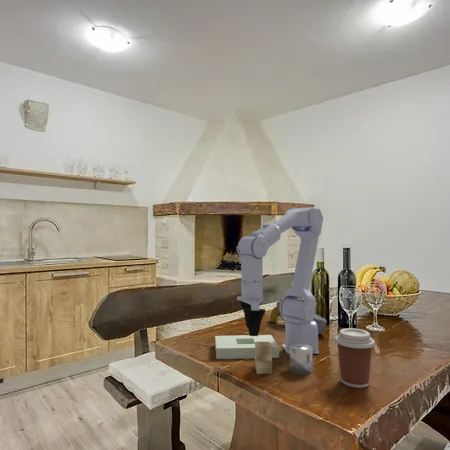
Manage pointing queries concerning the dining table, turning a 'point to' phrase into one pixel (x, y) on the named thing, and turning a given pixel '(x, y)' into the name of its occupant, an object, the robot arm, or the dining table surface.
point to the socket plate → (242, 346)
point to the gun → (319, 320)
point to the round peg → (301, 358)
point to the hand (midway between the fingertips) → (252, 331)
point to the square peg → (263, 357)
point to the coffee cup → (354, 356)
